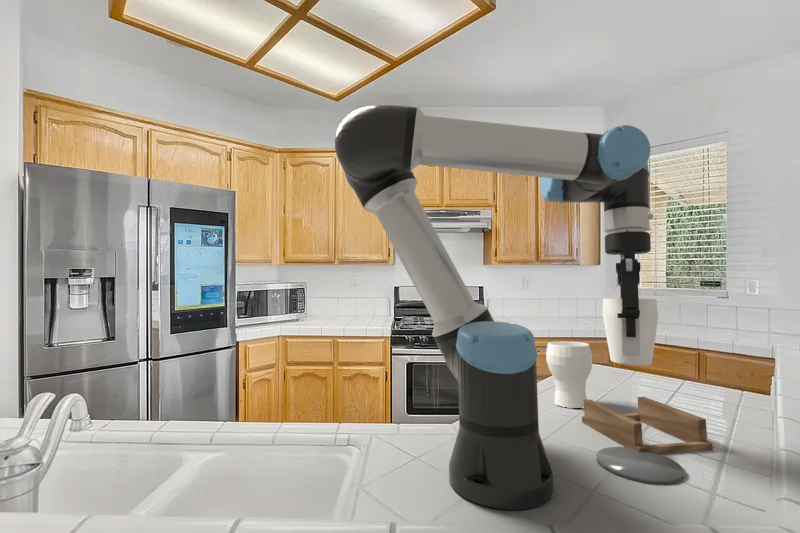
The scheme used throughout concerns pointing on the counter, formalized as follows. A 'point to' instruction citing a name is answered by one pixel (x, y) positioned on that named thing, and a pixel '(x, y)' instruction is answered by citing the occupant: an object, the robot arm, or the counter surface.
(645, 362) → the cup
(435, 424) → the counter surface
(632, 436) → the cradle
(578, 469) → the counter surface
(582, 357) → the cup
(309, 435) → the counter surface
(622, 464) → the trivet
